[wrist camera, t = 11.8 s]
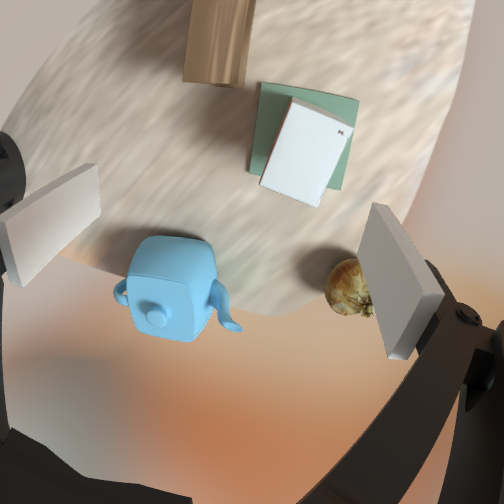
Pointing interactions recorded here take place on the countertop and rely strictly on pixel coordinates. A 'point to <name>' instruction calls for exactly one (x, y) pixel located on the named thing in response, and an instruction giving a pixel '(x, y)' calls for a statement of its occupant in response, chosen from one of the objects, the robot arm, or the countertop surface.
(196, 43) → the screen
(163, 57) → the countertop surface
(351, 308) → the onion
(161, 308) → the teapot
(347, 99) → the mat
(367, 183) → the countertop surface
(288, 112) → the small box
